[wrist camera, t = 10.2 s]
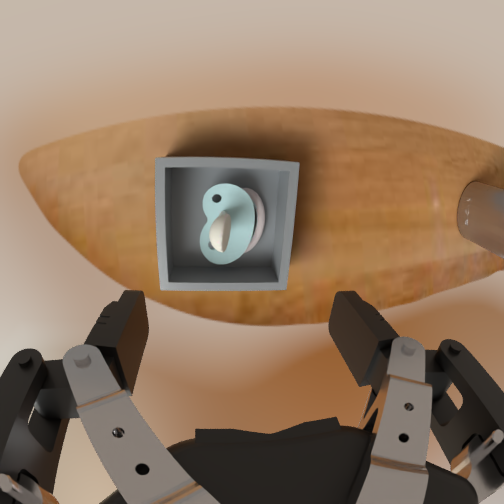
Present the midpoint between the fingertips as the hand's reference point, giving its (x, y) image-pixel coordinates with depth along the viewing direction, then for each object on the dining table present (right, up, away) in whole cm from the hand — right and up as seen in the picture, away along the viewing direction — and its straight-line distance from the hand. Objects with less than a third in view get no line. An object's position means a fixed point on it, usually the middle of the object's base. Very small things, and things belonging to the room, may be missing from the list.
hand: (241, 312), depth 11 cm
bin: (-2, +6, +16) cm, 17 cm away
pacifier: (-1, +6, +15) cm, 16 cm away
